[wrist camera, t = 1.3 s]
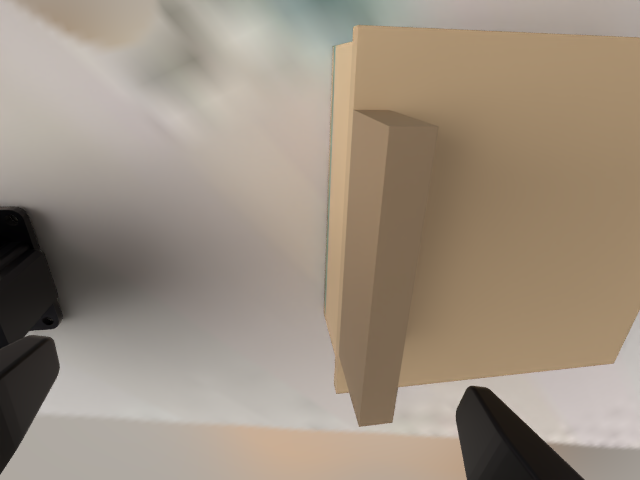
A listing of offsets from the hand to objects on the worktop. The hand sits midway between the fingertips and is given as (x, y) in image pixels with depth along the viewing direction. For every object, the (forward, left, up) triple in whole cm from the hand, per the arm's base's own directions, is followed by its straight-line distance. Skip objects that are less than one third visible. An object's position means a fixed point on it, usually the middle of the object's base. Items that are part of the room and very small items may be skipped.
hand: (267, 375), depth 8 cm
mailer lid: (+10, 0, -6) cm, 12 cm away
